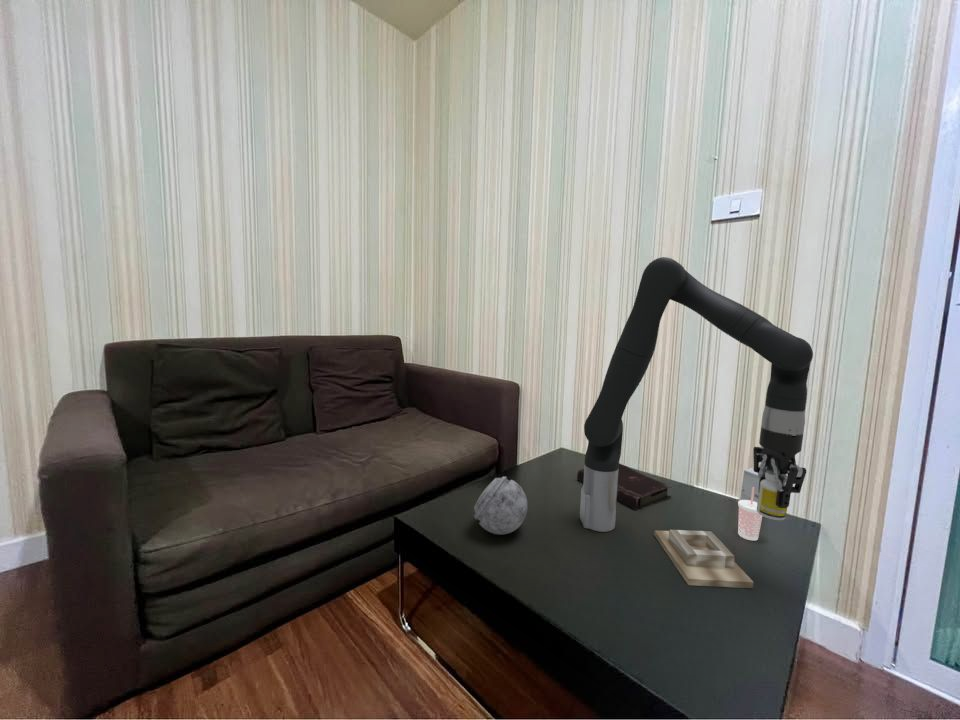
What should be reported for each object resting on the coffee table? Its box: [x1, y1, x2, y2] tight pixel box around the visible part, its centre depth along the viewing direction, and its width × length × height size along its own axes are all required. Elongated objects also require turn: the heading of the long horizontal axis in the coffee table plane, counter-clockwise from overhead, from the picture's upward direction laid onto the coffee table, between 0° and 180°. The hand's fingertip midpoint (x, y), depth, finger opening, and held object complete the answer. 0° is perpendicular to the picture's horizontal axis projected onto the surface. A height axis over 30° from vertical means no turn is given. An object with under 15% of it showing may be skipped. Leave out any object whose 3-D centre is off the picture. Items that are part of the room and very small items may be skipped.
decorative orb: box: [473, 476, 529, 536], centre depth 110 cm, size 15×14×15 cm
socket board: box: [653, 529, 754, 589], centre depth 100 cm, size 14×20×4 cm
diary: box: [576, 462, 673, 511], centre depth 139 cm, size 19×25×5 cm
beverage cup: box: [737, 487, 763, 541], centre depth 110 cm, size 6×6×14 cm
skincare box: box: [739, 467, 760, 503], centre depth 126 cm, size 6×4×12 cm
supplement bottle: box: [757, 470, 788, 521], centre depth 91 cm, size 5×5×10 cm
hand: (772, 500), depth 91 cm, fingers closed on supplement bottle, 5 cm apart
